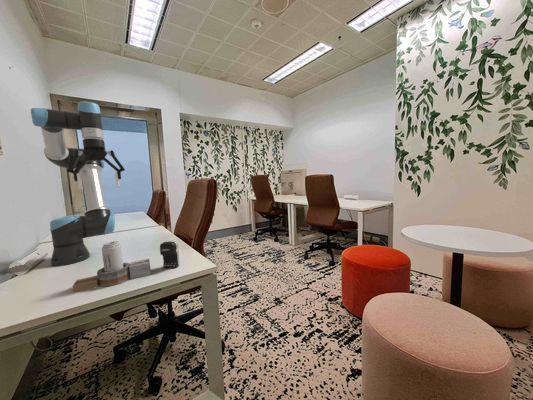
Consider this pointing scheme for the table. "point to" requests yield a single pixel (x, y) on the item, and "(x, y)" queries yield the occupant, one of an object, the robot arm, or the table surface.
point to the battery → (170, 254)
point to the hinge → (114, 276)
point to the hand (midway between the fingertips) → (100, 187)
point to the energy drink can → (112, 256)
